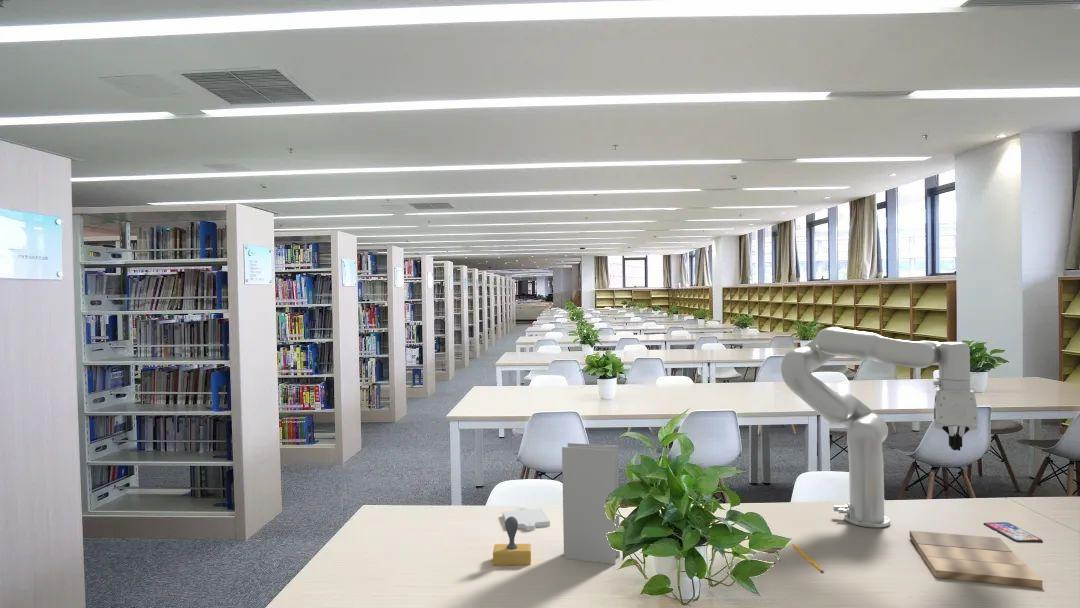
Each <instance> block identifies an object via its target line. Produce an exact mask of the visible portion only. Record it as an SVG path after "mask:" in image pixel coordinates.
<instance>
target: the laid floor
mask: <svg viewBox="0 0 1080 608" xmlns="http://www.w3.org/2000/svg"><path fill="white" fill-rule="evenodd" d="M917 551H918V553H919V555H920V556H921V558H922V559H923V560H924V562H925V563H926V565H927V567H928V568H929V569H930V572H931V573H932V574H933V576H934V577H935V578H937V579H938V578H939V579H946V580H947V579H948V580H949V579H950V580H958V581H966V582H967V581H968V582H979V583H989V584H999V585H1009V586H1018V587H1028V588H1038V589H1043V579H1042V578H1040V577H1039V576H1038V575H1037V573H1035V572H1034V570H1032V569H1031V568H1030V567H1029V566H1028V565H1027V564H1026V563H1025V562H1024V561H1023V560H1021V558H1020V557H1018V556H1017V555H1016V554H1015V553H1014V552H1013V551H1012V552H1004V551H992V550H981V549H969V548H958V547H946V546H935V545H923V544H918V550H917Z"/></svg>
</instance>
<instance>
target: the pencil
mask: <svg viewBox="0 0 1080 608" xmlns="http://www.w3.org/2000/svg"><path fill="white" fill-rule="evenodd" d="M792 547H793V548H794V549H796V551H798V553H799V554H801V555H802V556H803V557H804V558H805V559H806V560H807V561H808V562H810V564H812V565H813V566H814V567H815V569H817V570H818V571H819V572H820V573H821V574H824V573H825V571H824V569H822V568H821V567H820V566H819V565H818V564H816V563H815V562H814V561H813V560H812V559H811V558H810V557H809V556H808V555H807V554H806V553H804V552H803V551H802V550H801V549H800V548H799V547H798V546H797V544H794V543H793V544H792Z"/></svg>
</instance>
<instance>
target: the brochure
mask: <svg viewBox="0 0 1080 608" xmlns="http://www.w3.org/2000/svg"><path fill="white" fill-rule="evenodd" d="M561 463H562V465H561V466H562V467H561V468H562V470H561V471H562V517H563V518H562V522H563V523H562V526H563V559H566V560H568V559H569V560H575V561H583V562H593V563H600V564H608V565H616V562H617V561H616V560H617V558H620V557H621V551H620V552H619V551H616V550H614V549H612V548H611V546H610V545H609V542H608V540H607V537H606V533H608V532H613V531H615V530H616V529H617V528H618V526H619V527H620V515H619V516H616V519H615V524H616V526H615V525H614V524H613V522H612V521H611V520H609V519H608V518H607V516H606V514H605V507H604V504H605V502H606V499H607V497H608V495H609V494H610V493H612V492H613V491H614V490H615V489H616V488H618V487H619V479H620V478H619V477H620V476H619V446H618V445H610V444H594V443H592V444H591V443H590V444H589V443H575V442H568V443H567V446H562V447H561Z"/></svg>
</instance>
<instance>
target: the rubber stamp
mask: <svg viewBox="0 0 1080 608" xmlns="http://www.w3.org/2000/svg"><path fill="white" fill-rule="evenodd" d="M504 522H505V521H504ZM504 525H505V526H504V527H505V530H506V533H507V536H508V539H509V543H495V544H494V545H493V551H492V566H530V565H532V544H531V543H515V538H516V534H517V531H518V530H519V529H518V521H517V519H516V518H515V517H512V516H511V517H508V518H507V520H506V522H505V523H504Z"/></svg>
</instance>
